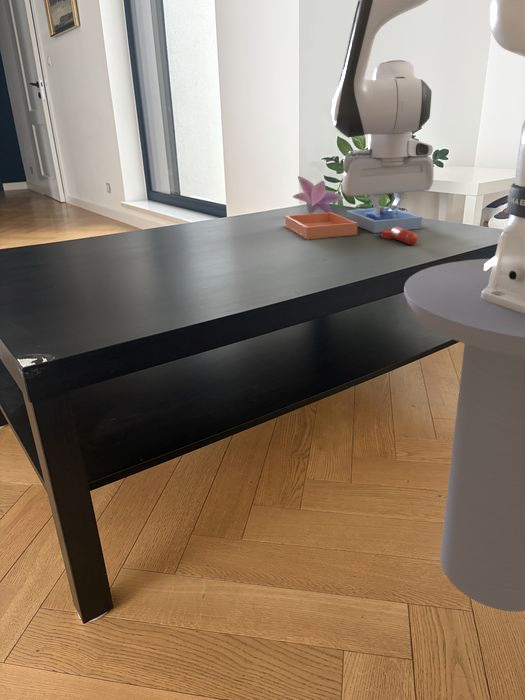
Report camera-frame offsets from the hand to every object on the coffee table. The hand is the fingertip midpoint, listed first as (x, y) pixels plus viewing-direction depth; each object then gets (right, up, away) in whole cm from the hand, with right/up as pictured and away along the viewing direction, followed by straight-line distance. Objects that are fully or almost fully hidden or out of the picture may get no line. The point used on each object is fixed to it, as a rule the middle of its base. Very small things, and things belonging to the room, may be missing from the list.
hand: (386, 214), depth 122 cm
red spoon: (0, -8, -12) cm, 15 cm away
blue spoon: (0, -1, +3) cm, 3 cm away
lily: (-14, +3, +15) cm, 21 cm away
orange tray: (-15, -4, 0) cm, 15 cm away
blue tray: (0, -2, +3) cm, 3 cm away
